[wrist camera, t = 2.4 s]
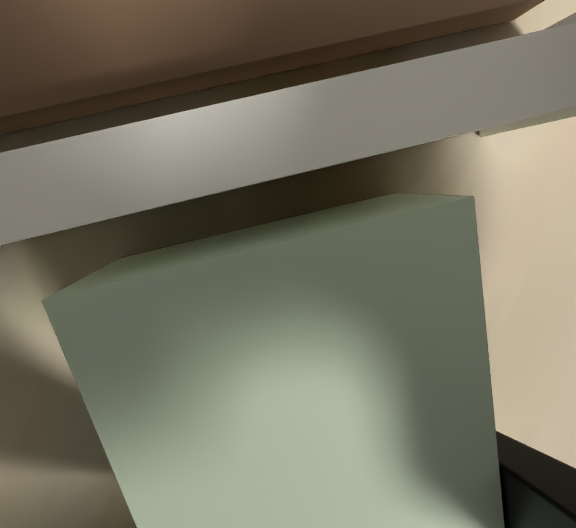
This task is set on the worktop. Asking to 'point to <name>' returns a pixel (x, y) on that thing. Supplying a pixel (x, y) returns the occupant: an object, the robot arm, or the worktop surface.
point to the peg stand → (196, 45)
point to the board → (296, 372)
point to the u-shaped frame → (287, 132)
